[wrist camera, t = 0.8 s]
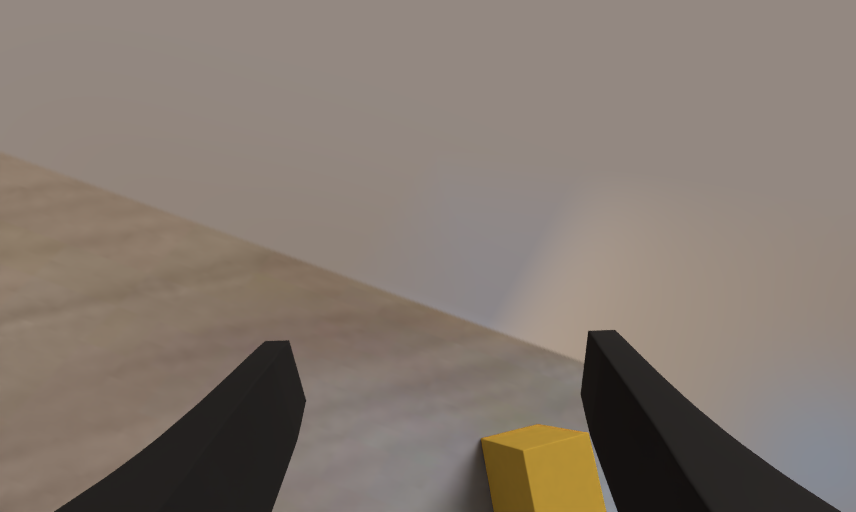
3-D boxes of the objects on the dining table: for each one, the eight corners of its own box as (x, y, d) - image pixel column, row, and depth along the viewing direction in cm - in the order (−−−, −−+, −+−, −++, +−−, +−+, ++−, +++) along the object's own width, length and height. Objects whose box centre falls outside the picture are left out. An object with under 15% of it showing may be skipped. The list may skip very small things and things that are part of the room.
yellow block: (563, 546, 28) (622, 580, 23) (503, 568, 26) (553, 608, 22) (538, 423, 29) (589, 432, 24) (480, 438, 28) (522, 450, 23)
